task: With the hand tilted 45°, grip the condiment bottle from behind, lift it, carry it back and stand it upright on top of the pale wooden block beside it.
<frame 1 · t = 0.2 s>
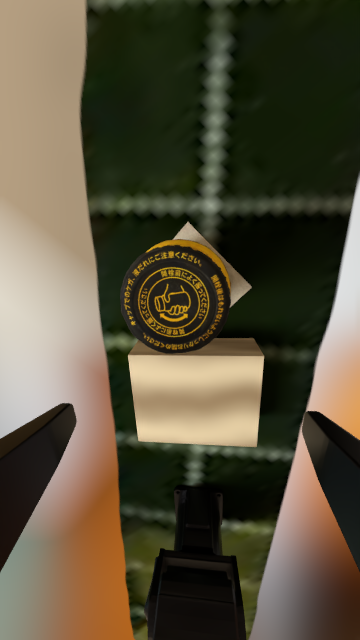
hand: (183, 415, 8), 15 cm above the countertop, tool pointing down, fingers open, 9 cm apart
condiment: (193, 283, 22), on the countertop
wooden block: (196, 379, 25), on the countertop
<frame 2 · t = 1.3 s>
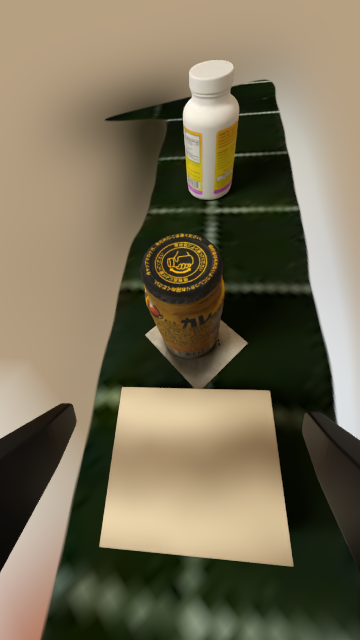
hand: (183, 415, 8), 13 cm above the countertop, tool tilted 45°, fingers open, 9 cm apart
condiment: (195, 340, 24), on the countertop
supplement bottle: (209, 189, 35), on the countertop
wooden block: (194, 454, 19), on the countertop
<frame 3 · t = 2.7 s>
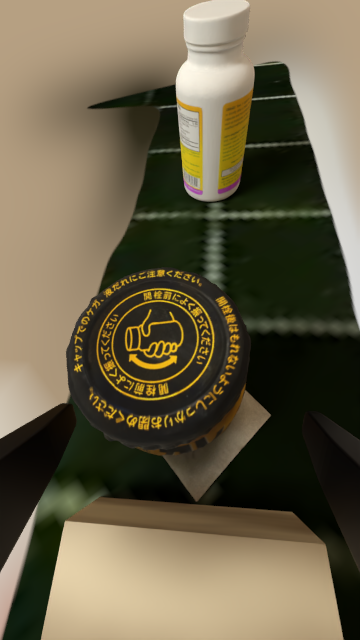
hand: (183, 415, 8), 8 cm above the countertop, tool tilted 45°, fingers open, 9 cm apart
condiment: (192, 406, 16), on the countertop
supplement bottle: (211, 188, 27), on the countertop
wooden block: (190, 624, 12), on the countertop
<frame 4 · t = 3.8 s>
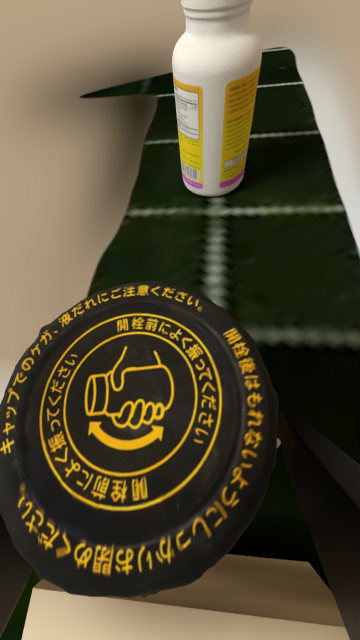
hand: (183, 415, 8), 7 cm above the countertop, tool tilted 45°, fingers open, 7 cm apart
condiment: (190, 429, 14), on the countertop, touching gripper
supplement bottle: (212, 181, 25), on the countertop
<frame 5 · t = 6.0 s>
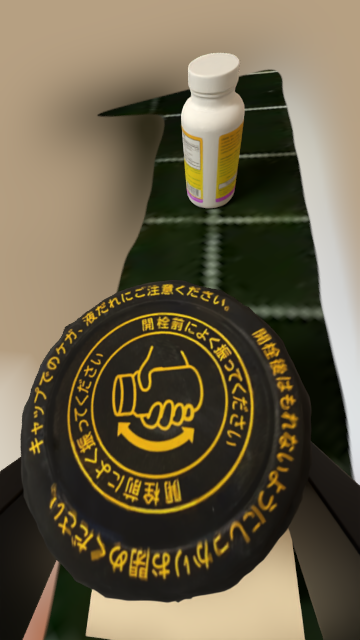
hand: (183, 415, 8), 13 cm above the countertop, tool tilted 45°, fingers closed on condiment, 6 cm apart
condiment: (199, 429, 14), point 6 cm above the countertop, touching gripper
supplement bottle: (210, 195, 32), on the countertop
wooden block: (194, 506, 17), on the countertop
when the fingers open (12 cm above the countertop, at t = 7.6 s): condiment drops 1 cm, resting on wooden block.
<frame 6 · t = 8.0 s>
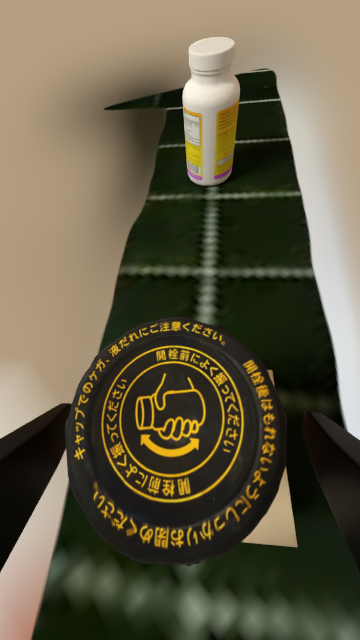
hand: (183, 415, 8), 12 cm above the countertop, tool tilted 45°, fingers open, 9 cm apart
condiment: (199, 433, 15), point 4 cm above the countertop, touching wooden block
supplement bottle: (209, 175, 34), on the countertop
wooden block: (194, 437, 19), on the countertop
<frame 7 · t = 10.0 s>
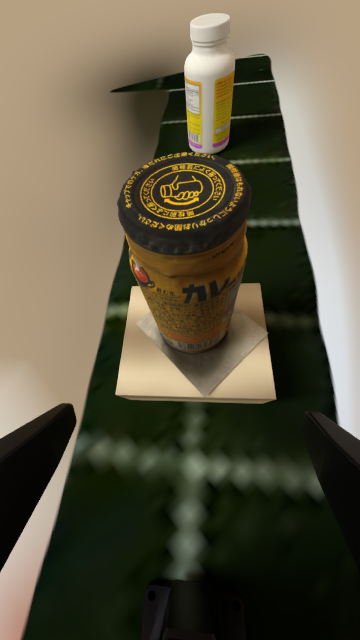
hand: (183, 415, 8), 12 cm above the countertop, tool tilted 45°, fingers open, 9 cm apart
condiment: (199, 329, 19), point 4 cm above the countertop, touching wooden block
supplement bottle: (208, 146, 37), on the countertop
wooden block: (195, 348, 22), on the countertop
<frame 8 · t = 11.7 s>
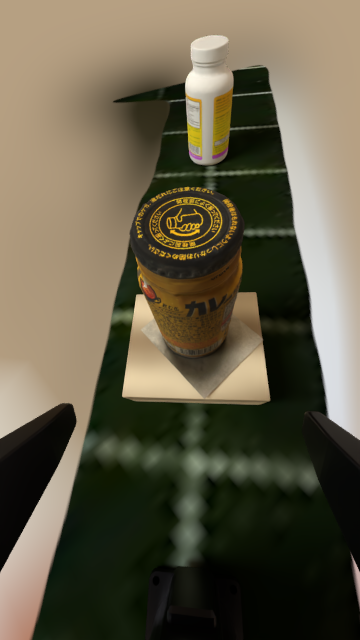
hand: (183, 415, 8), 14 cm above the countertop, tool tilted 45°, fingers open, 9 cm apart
condiment: (199, 336, 20), point 4 cm above the countertop, touching wooden block
supplement bottle: (208, 157, 39), on the countertop
wooden block: (195, 353, 23), on the countertop
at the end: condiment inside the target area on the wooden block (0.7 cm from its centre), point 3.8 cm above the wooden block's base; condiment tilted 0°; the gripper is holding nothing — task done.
